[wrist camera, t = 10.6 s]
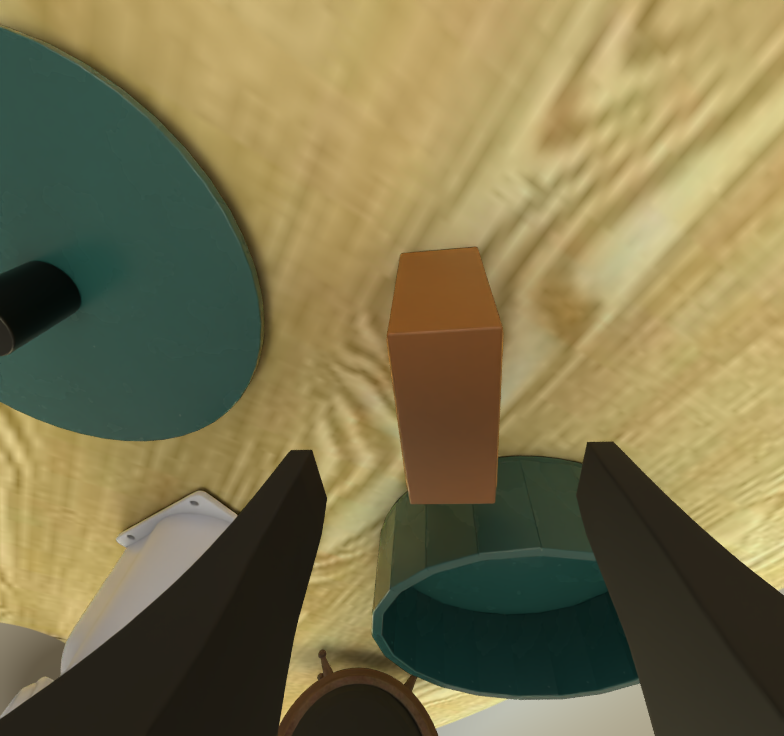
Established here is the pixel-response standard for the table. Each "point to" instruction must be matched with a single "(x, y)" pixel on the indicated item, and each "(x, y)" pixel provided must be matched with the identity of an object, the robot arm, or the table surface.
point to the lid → (113, 261)
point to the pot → (501, 592)
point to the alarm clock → (357, 706)
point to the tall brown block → (446, 376)
